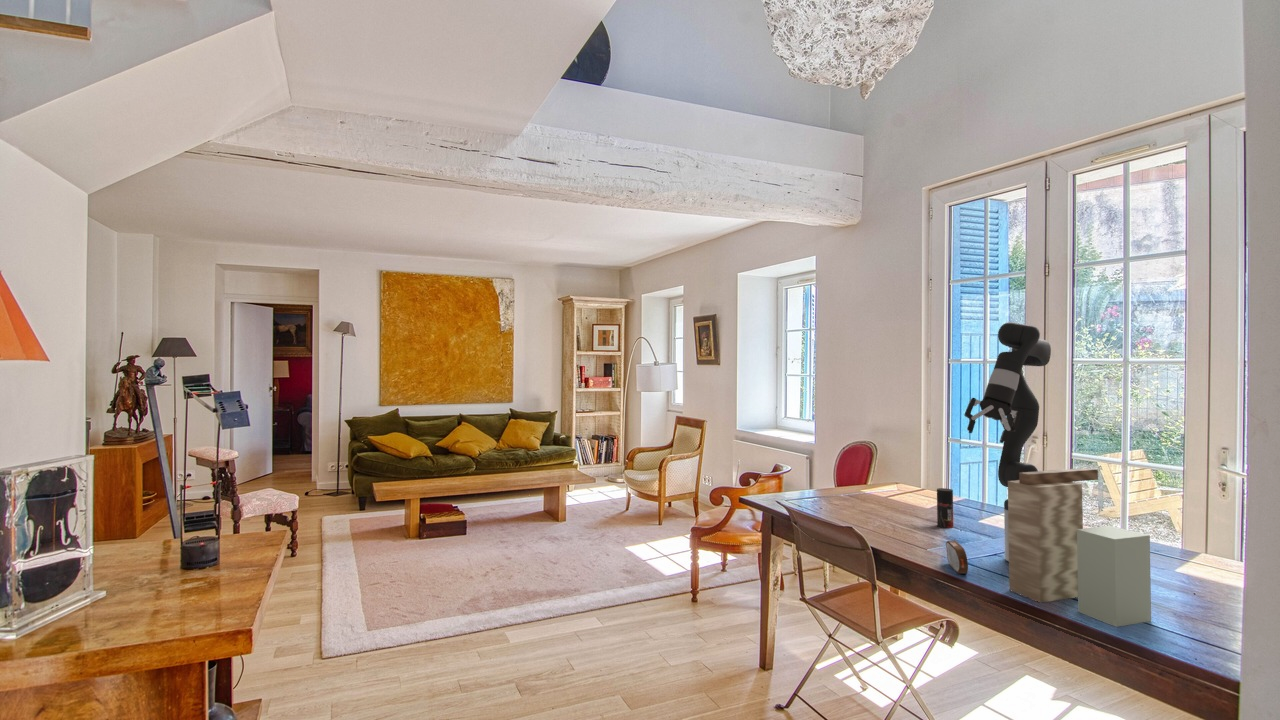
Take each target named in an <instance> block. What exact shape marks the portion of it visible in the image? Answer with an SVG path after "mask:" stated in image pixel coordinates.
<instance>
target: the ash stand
mask: <svg viewBox="0 0 1280 720" xmlns="http://www.w3.org/2000/svg"><path fill="white" fill-rule="evenodd" d="M1007 499H1008V528H1009V562H1008V570H1009V571H1008V580H1009V583H1008V584H1009V585H1008V586H1009V589H1008V590H1009V591H1010V590H1012V591H1014V592H1013V593H1015V592H1016V593H1015V594H1017V593H1019V594H1018V595H1020V594H1021V595H1020V596H1022V595H1023V597H1025V596H1026V597H1025V598H1027V597H1029V598H1028V599H1030V598H1031V599H1030V600H1032V599H1033V600H1032V601H1034V600H1036V601H1035V602H1037V601H1038V603H1039V602H1041V603H1046V602H1047V603H1048V602H1053V601H1054V602H1055V601H1061V600H1069V599H1074V598H1075V597H1076V598H1078V558H1077V529H1084V528H1083V527H1084V526H1083V525H1084V521H1083V520H1084V519H1083V515H1084V513H1083V483H1078V482H1076V481H1074V482H1061V483H1048V484H1035V485H1026V484H1021V483H1019V480H1016V481H1008V487H1007ZM1012 591H1011V592H1012ZM1068 598H1069V599H1068Z"/></svg>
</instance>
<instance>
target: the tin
mask: <svg viewBox="0 0 1280 720" xmlns="http://www.w3.org/2000/svg"><path fill="white" fill-rule="evenodd" d="M945 547H946V548H945V549H946V558H947V562H948V564H949V566H950V567H951V568H952V569H953V570H954V572H955V573H956V572H957V573H956V574H957V575H958V574H959V575H962V574H963V575H967V574H968V572H969V561H968V557H967V554H966V553H967V552H966V551H965V549H964V547H963V546H962V545H961V544H960V543H959V542H958V541H957V540H955V539H954V540H947V541H946V542H945Z"/></svg>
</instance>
